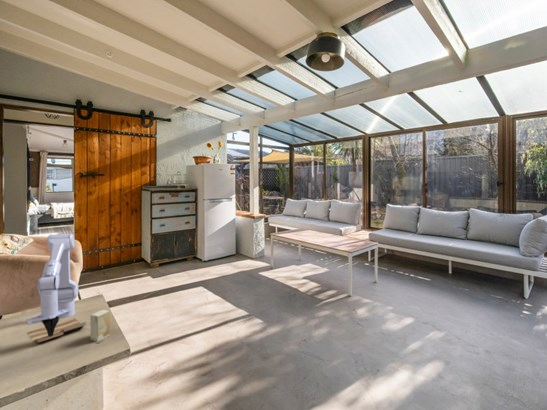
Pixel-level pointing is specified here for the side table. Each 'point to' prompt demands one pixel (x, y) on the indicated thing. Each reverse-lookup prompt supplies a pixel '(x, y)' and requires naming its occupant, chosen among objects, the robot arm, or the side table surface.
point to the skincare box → (100, 325)
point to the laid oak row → (35, 333)
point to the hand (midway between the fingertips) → (50, 335)
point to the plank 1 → (49, 337)
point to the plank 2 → (73, 327)
